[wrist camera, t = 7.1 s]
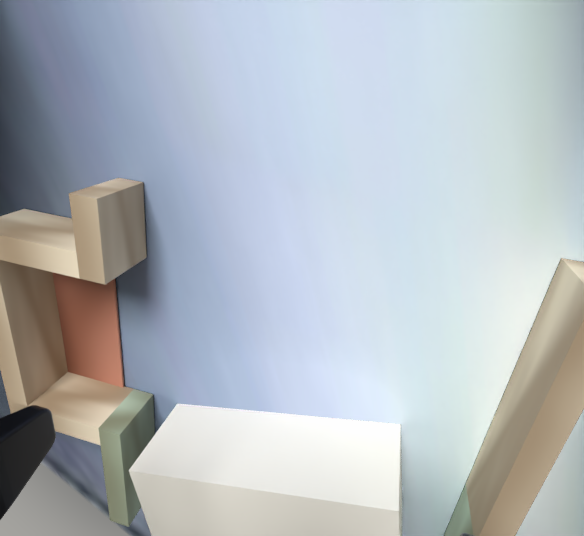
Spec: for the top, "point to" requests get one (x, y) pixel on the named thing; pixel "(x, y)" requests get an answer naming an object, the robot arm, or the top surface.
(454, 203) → the top surface
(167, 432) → the cream block
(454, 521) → the u-shaped wooden frame
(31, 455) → the robot arm
